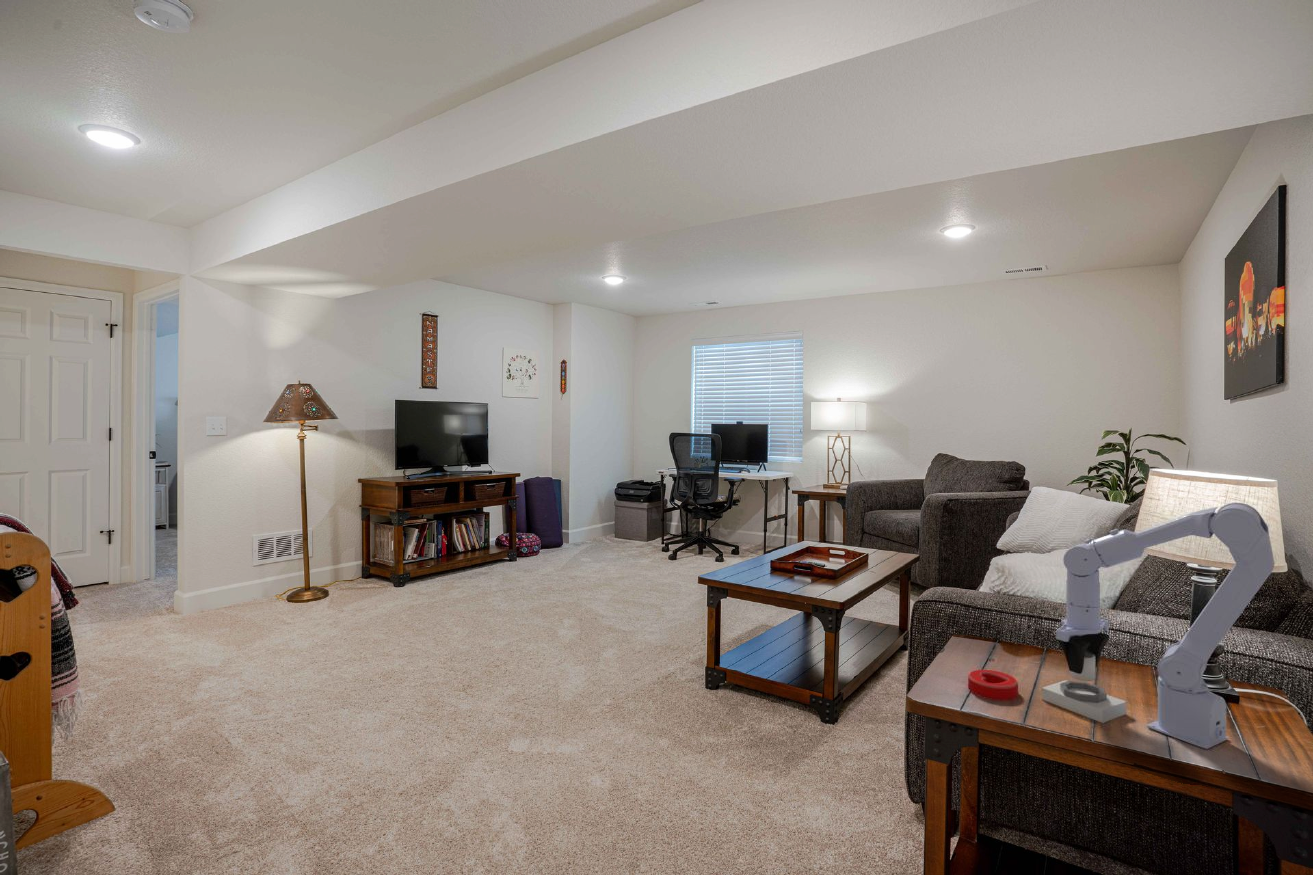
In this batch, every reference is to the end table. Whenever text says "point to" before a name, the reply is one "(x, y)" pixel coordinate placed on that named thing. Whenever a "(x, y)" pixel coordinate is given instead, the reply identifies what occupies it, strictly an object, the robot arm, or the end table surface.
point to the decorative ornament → (993, 684)
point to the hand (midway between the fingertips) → (1082, 669)
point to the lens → (1086, 668)
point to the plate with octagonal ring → (1084, 700)
